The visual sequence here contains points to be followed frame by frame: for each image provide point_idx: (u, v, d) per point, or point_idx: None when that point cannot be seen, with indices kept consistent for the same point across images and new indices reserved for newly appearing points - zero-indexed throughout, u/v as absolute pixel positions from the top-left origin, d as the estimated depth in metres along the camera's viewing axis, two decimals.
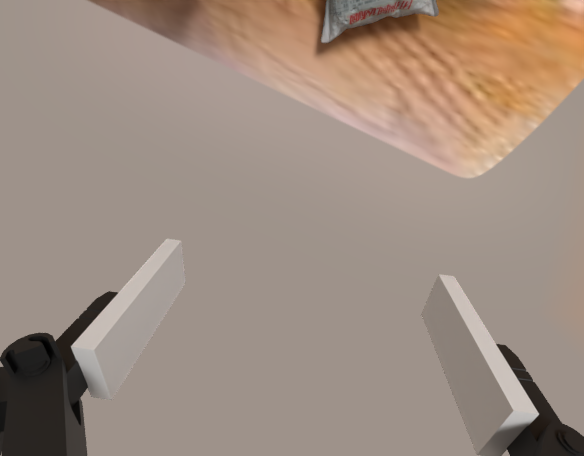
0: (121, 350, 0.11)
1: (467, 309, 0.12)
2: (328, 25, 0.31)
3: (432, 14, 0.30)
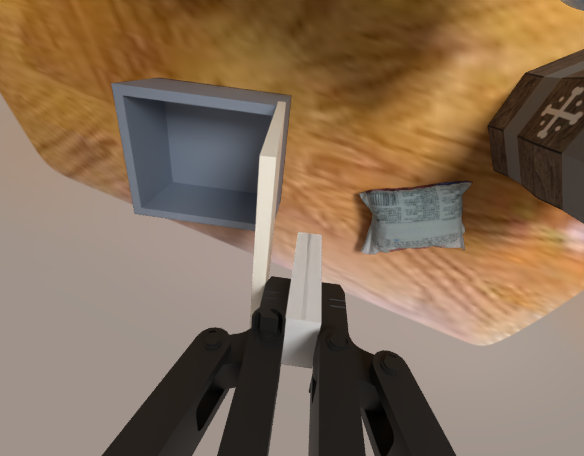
0: None
1: (315, 257, 0.15)
2: (369, 245, 0.36)
3: (459, 247, 0.35)
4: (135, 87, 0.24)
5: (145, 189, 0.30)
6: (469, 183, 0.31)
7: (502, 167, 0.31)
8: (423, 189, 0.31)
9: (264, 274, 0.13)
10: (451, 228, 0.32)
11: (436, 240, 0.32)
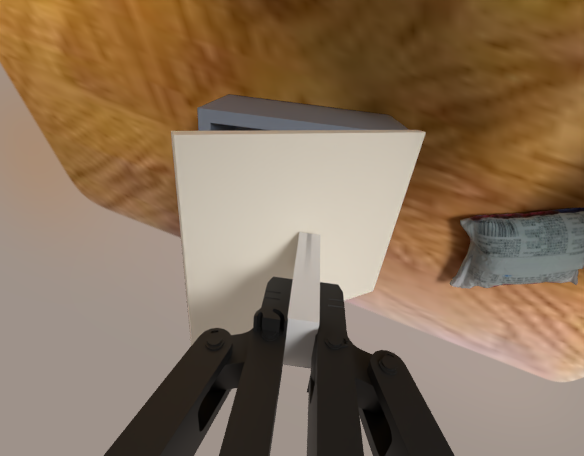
0: None
1: (313, 256, 0.15)
2: (463, 277, 0.31)
3: (569, 281, 0.30)
4: (228, 113, 0.19)
5: None
6: None
7: None
8: (545, 217, 0.26)
9: (184, 250, 0.14)
10: (576, 263, 0.27)
11: (554, 276, 0.28)
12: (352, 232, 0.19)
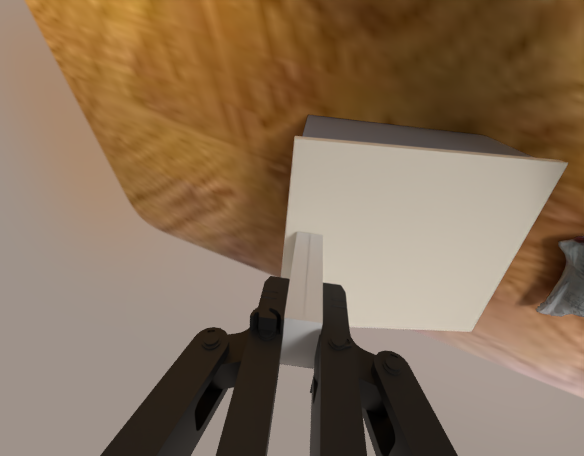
0: None
1: (316, 257, 0.15)
2: (555, 304, 0.28)
3: None
4: None
5: None
6: None
7: None
8: None
9: (285, 233, 0.17)
10: None
11: None
12: (452, 258, 0.18)
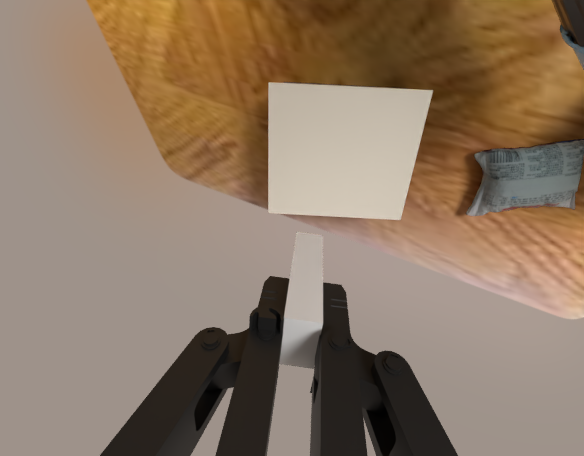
0: None
1: (316, 257, 0.15)
2: (477, 206, 0.37)
3: (568, 207, 0.36)
4: None
5: None
6: None
7: None
8: (545, 146, 0.33)
9: (268, 144, 0.29)
10: (571, 184, 0.33)
11: (554, 197, 0.34)
12: (374, 160, 0.29)
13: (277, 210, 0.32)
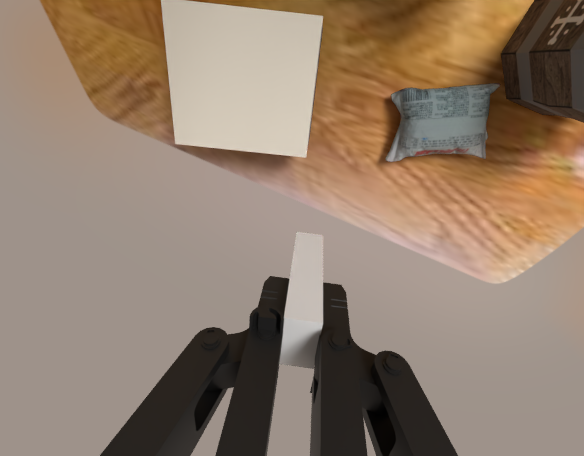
0: None
1: (316, 257, 0.15)
2: (395, 151, 0.38)
3: (480, 156, 0.37)
4: None
5: None
6: (497, 84, 0.33)
7: (514, 92, 0.34)
8: (454, 87, 0.33)
9: (168, 67, 0.29)
10: (477, 126, 0.33)
11: (461, 140, 0.34)
12: (274, 89, 0.29)
13: (184, 141, 0.32)
